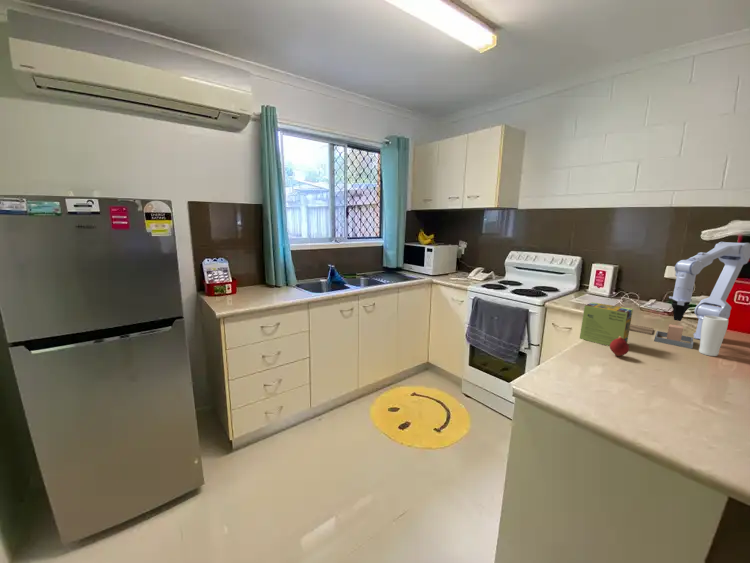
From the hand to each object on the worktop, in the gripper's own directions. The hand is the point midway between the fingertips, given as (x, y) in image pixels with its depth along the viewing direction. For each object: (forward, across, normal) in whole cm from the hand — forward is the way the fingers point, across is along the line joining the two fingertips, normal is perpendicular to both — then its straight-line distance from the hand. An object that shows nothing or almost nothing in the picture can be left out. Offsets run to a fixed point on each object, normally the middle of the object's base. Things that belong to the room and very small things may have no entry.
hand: (677, 318), depth 138 cm
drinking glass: (+11, +9, +10) cm, 17 cm away
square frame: (+10, 0, 0) cm, 10 cm away
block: (+10, 0, 0) cm, 10 cm away
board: (+10, -10, -12) cm, 19 cm away
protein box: (+11, +24, -22) cm, 34 cm away
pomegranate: (+11, +40, -14) cm, 43 cm away
